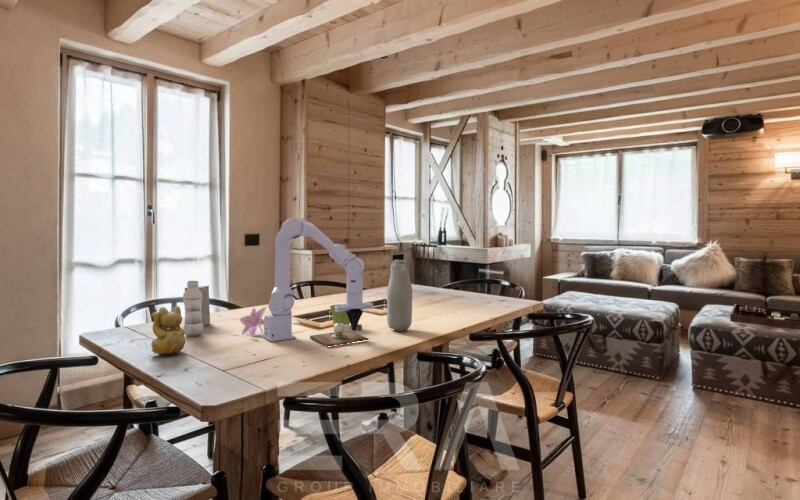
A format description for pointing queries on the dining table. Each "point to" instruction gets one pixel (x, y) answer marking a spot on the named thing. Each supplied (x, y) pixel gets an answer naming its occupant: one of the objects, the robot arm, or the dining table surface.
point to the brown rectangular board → (337, 338)
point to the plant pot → (339, 316)
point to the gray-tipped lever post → (345, 327)
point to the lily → (253, 321)
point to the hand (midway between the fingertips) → (354, 330)
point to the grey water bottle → (399, 296)
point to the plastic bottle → (193, 309)
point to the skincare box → (204, 304)
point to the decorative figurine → (167, 332)
